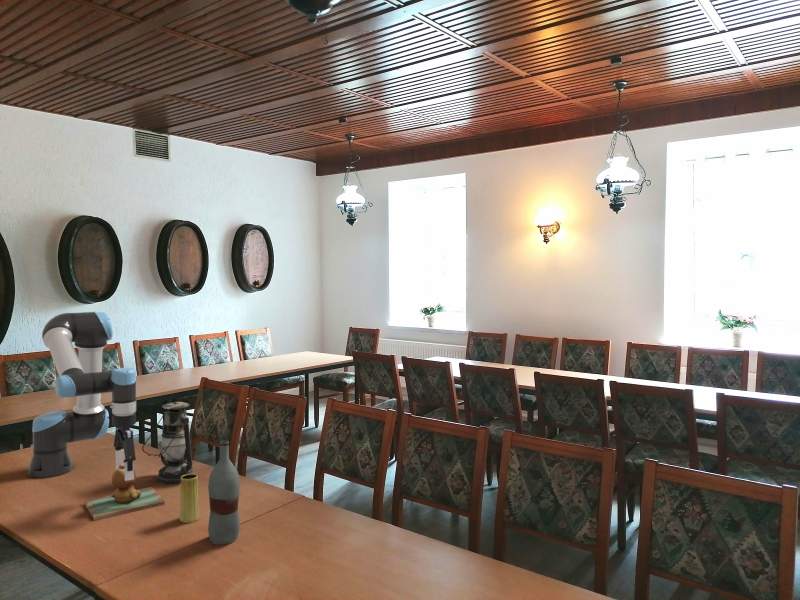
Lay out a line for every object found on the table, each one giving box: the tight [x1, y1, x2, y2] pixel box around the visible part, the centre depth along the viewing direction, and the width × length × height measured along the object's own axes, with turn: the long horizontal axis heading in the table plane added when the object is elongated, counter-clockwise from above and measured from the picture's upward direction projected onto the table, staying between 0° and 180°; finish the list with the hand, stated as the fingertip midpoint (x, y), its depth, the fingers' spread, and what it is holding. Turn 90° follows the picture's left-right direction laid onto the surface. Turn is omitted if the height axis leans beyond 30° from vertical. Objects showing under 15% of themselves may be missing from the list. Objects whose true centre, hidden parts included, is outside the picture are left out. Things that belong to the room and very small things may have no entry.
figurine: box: [110, 463, 141, 504], centre depth 198 cm, size 10×8×15 cm
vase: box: [179, 473, 200, 524], centre depth 187 cm, size 6×6×14 cm
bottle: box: [207, 440, 241, 546], centre depth 174 cm, size 9×9×30 cm
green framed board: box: [84, 486, 166, 521], centre depth 199 cm, size 16×22×1 cm
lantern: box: [141, 401, 197, 485], centre depth 222 cm, size 19×19×30 cm
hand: (124, 474), depth 198 cm, fingers open, 13 cm apart
